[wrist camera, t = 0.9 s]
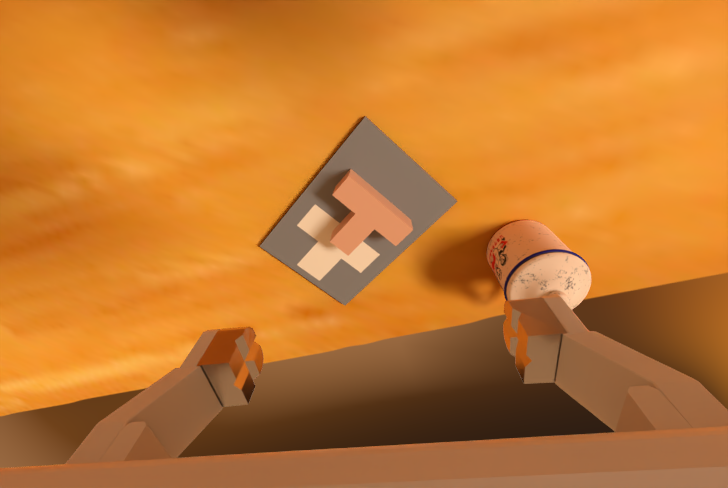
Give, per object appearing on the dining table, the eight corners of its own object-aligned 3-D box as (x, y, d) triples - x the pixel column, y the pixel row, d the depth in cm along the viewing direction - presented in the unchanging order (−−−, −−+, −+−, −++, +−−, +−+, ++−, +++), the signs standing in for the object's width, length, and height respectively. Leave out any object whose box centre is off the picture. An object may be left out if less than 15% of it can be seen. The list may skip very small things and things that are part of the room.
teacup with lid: (481, 224, 43) (513, 274, 33) (555, 210, 42) (613, 258, 32) (486, 297, 49) (515, 360, 38) (552, 287, 47) (600, 349, 37)
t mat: (365, 116, 37) (365, 116, 37) (456, 199, 42) (457, 201, 41) (261, 244, 46) (259, 246, 45) (345, 302, 50) (344, 305, 50)
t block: (350, 168, 40) (348, 175, 37) (411, 219, 42) (413, 229, 40) (311, 214, 43) (306, 224, 40) (369, 259, 46) (369, 271, 43)
